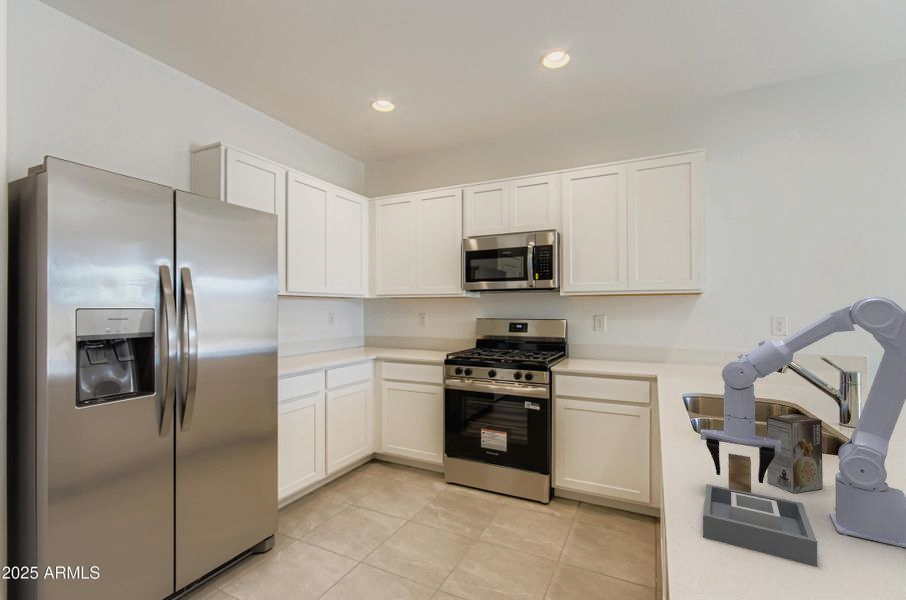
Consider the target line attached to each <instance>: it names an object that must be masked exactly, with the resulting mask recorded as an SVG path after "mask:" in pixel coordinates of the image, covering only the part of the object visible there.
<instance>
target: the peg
mask: <svg viewBox="0 0 906 600" xmlns="http://www.w3.org/2000/svg"><path fill="white" fill-rule="evenodd" d="M727 457H728V488H729V489H735V490H740V491H745V492H750V493H752V461H751V456H747V455H740V454H735V453H728V456H727Z"/></svg>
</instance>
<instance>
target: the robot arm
mask: <svg viewBox="0 0 906 600" xmlns="http://www.w3.org/2000/svg"><path fill="white" fill-rule="evenodd" d="M854 325H857V326H858V327H860V328H861V329H863V330H864V331H866V332H867V333H869V334H871V335H872V337H873V338H874V339H875V340H876V341H877V342H878V344H879V345H880V346H881V347H882V348H883V350H884V352H883V355H882V357H881V361H880V362H879V365H878V368H877V371H876V373H875V376H874V379H873V382H872V384H871V387H870V389H869V392H868V394H867V397H866V399H865V403H864V405H863V407H862V410H861V413H860V416H859V419H858V421H857V424H856V427H855V429H854V430H853V431H852V433H851V435H850V438H849V440H847V442H845V443H844V444H842V445H840V447H839V448H838V450H837V451H838V452H837V455H838V459H839V461H838V470H839V472H837V473H836V474H835V475H834V476H835V479H834V481H835V482H834V483H835V513H833V512H830V513H829V517H830V519H831V522H832V523H833V525H834V527H835V529H836V531H837V532H838V533H839V534H843V535H849V536H852V537H856V538H860V539H865V540H871V541H876V542H880V543H884V544H888V545H893V546H897V547H901V548H902V547H903V548H906V494H905V493H904V491H903V490H902V489H899V488H894V487H891V486H889V484H888V483H887V482H886V481H887V477H888V472H887V469H886V465H885V464H886V462H885V461H886V459H887V456H888V450H889V444H890V440H891V437H892V435H893V433H894V430H895V427H896V425H897V422H898V420H899V418H900V415H901V411H902V409H903V407H904V404H905V402H906V310H904V309H903V307H901V306H900V305H899V304H897V302H896V301H894V300H892V299H889V298H887V297H884V296H869V297H865V298H861V299H859V300H858V301H856V302H854V304H848V305H847V306H844V307H841V308H839V309H836V310H834V311H830V312H829V313H826V314H825V315H823V316H821V317H820V318H819V319H818V318H817V319H816V320H815V321H813V322H812V323H809V325H807V326H805V327H804V328H801V329H799V331H796V332H795V333H793V334H791V335H790V336H788V337H787V338H785V339H783V340H778V339H773V338H772V339H771V338H770V339H769V340H761V341H760V342H758V343H757V345H758V346H757V347H755V348H754V349H752V350H750V351H748V352H747V353H745V354H743V353H740V354H738V355H737V358H738V359H737V360H733V361H730V362H728V363H727V364H726V365H725V366H724V367H723V369H722V371H721V377H722V380H723V382H724V385H723V387H724V392H723V430H716V429H706V428H705V429H703V428H701V429H700V440H703V441H705V442H706V443H705V445H706V447H707V449H708V452H709V454H710V455H711V458H712V460H713V463H714V466H715V473H716V475H717V476H721V461H720V460H721V459H720V442H721V443H727V444H733V445H740V446H745V447H752V448H758V453H759V454H758V456H759V457H758V458H759V462H758V473H757V475H758V476H757V478H758V483H759V484H764V479H765V475H766V472H767V468H768V466H769V464H770V463H771V461H772V460H773V459H774V456H775V451H778V452H781V441H780V440H775V439H769V438H767V437H765V436H759V435H756V395H755V385H754V383H755V382H756V380H757V379H764V378H766V377H768V376H769V375H771V374H773V373H775V372H777V371H778V370H780V369H783V368H784V367H787V366H788V365H790V364H792V363H793V359H794V354H796V353H797V352H798V351H801V350H803V349H804V348H805V349H806V347H809V346H810V345H812V344H814V343H816V342H819V341H820V340H822V339H824V338H826V337H828V336H830V335H832V334H834V333H840V332H855V331H856V328H855V326H854Z"/></svg>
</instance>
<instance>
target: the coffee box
mask: <svg viewBox="0 0 906 600" xmlns="http://www.w3.org/2000/svg"><path fill="white" fill-rule="evenodd" d="M822 421H823V420H822V419H819V418H814V417H810V416H807V415H803V414H796V413H787V414H774V415H766V438H769V439H775V440H780V441H781V452H778V451H775V456H774V459H773V460H772V461H771V463H770V464H769V466H768V468H767V470H766V472H767V483H768V484H769V485H772V486H775V487H777V488H780V489H783V490H785V491H787V492H789V493H792V494H799V493H804V492H810V491H815V490H822V489H823V488H824V487H823V486H824V485H823V483H824V482H823V477H824V476H823V475H824V474H823V431H822V430H823V427H822V425H823V424H822Z"/></svg>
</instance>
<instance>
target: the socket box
mask: <svg viewBox="0 0 906 600" xmlns="http://www.w3.org/2000/svg"><path fill="white" fill-rule="evenodd" d="M702 517H703V518H702V537H703V538H706V539H709V540H713V541H717V542H720V543H725V544H728V545H732V546H736V547H740V548H744V549H748V550H752V551H755V552H760V553H763V554H766V555H767V554H768V555H770V556H771V555H772V556H774V557H779V558H783V559H787V560H789V561H790V560H792V561H794V562H798V563H801V564H802V563H803V564H805V565H810V566H814V567H818V540H817V538H816V535H815V532H814V530H813V526H812V524H811V522H810V520H809V519H810V518H809V517H808V515H807V511H806V509H805V507H804V504H803V502H800V501H799V502H798V501H793V500H790V499H784V498H780V497H773V496H769V495H765V494H759V493H754V492H751V493H750V492H745V491H740V490H735V489H729V487H725V486H724V487H723V486H719V485H713V484H708V483H706V486H705V495H704V504H703V513H702Z"/></svg>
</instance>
